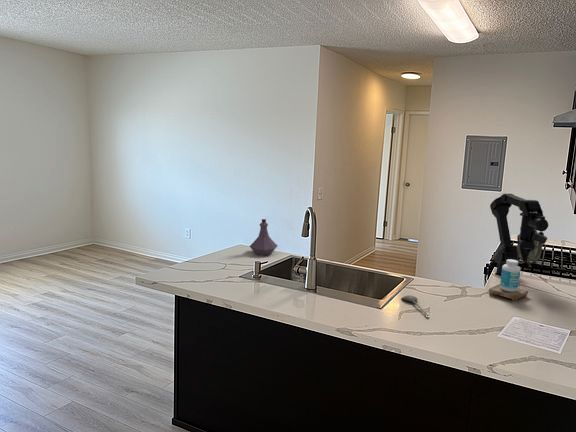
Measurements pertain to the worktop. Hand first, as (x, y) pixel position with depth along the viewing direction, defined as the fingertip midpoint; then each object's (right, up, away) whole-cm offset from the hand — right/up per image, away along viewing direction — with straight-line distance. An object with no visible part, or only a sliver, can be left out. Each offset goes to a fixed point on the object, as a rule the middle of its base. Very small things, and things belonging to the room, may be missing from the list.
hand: (523, 258), depth 215 cm
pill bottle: (-13, -13, -13) cm, 22 cm away
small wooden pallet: (-13, -16, -12) cm, 24 cm away
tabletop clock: (+20, -7, +35) cm, 40 cm away
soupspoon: (-59, -18, -26) cm, 67 cm away
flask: (-126, -1, +47) cm, 135 cm away
